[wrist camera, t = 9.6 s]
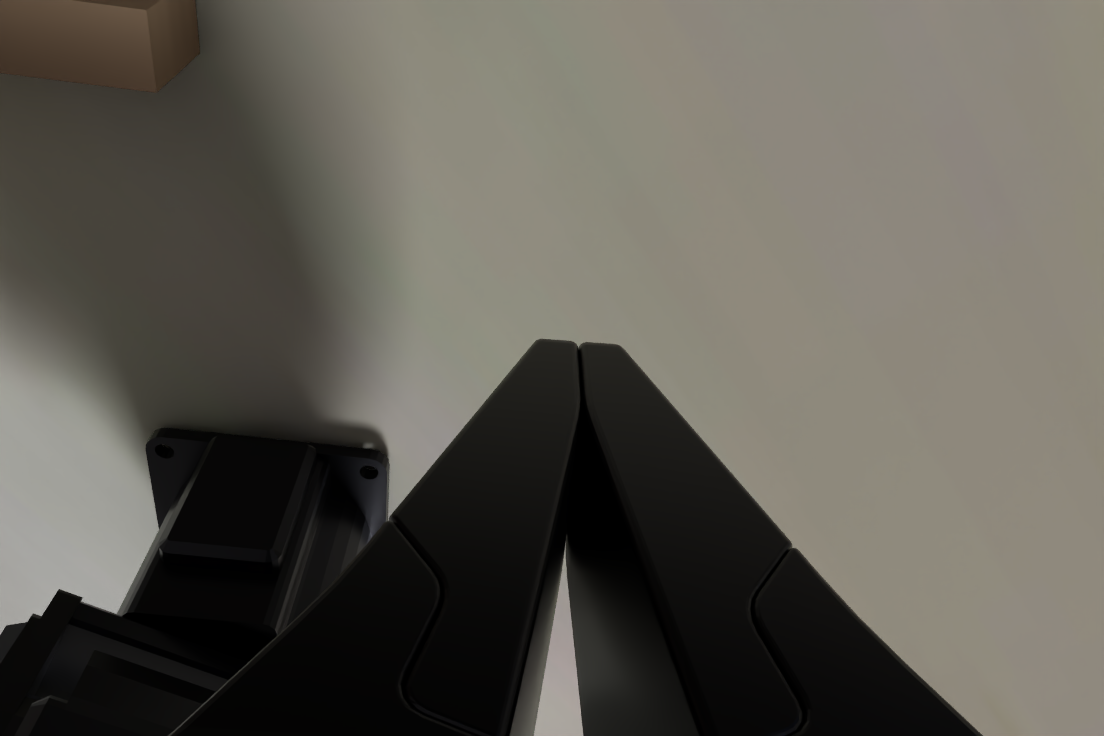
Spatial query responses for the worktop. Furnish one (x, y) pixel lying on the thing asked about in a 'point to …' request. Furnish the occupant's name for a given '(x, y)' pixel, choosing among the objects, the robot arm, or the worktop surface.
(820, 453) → the worktop surface
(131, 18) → the wooden tray
